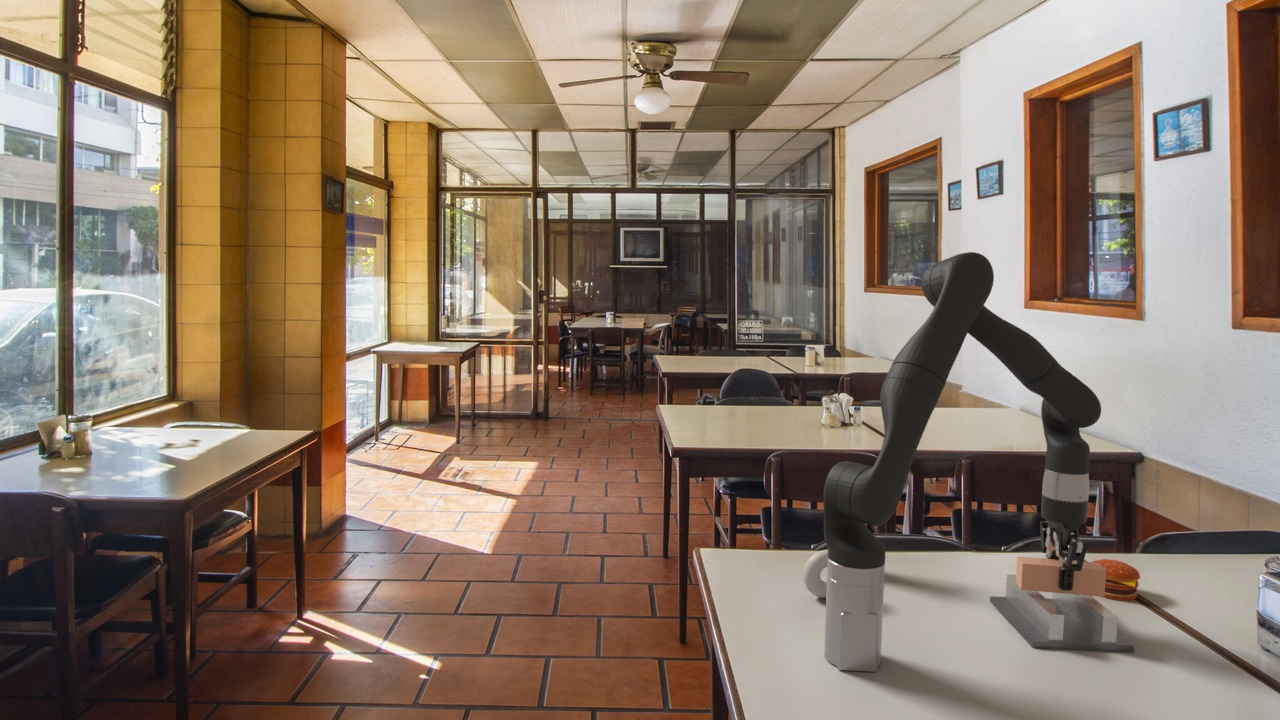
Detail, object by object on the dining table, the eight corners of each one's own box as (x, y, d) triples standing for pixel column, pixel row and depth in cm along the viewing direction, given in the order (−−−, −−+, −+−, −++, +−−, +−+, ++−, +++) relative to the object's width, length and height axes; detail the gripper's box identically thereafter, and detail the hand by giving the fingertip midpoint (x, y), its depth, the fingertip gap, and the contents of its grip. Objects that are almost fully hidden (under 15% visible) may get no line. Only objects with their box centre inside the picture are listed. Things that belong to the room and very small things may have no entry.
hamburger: (1083, 595, 162) (1085, 563, 161) (1088, 581, 170) (1090, 551, 169) (1137, 605, 156) (1139, 573, 156) (1140, 591, 164) (1142, 560, 164)
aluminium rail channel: (1133, 652, 136) (1136, 618, 135) (1032, 647, 137) (1034, 614, 137) (1077, 605, 156) (1079, 576, 155) (989, 602, 157) (991, 573, 156)
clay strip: (1104, 596, 142) (1106, 570, 142) (1021, 589, 145) (1022, 563, 145) (1096, 588, 146) (1098, 562, 146) (1015, 581, 149) (1017, 556, 149)
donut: (806, 603, 156) (807, 554, 155) (799, 596, 159) (801, 548, 158) (853, 599, 157) (855, 551, 157) (845, 593, 161) (847, 545, 160)
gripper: (1106, 506, 137) (1099, 600, 138) (1067, 485, 151) (1062, 571, 153) (1062, 504, 137) (1055, 599, 139) (1027, 484, 152) (1022, 570, 153)
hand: (1059, 584), depth 146 cm, fingers closed on clay strip, 4 cm apart
